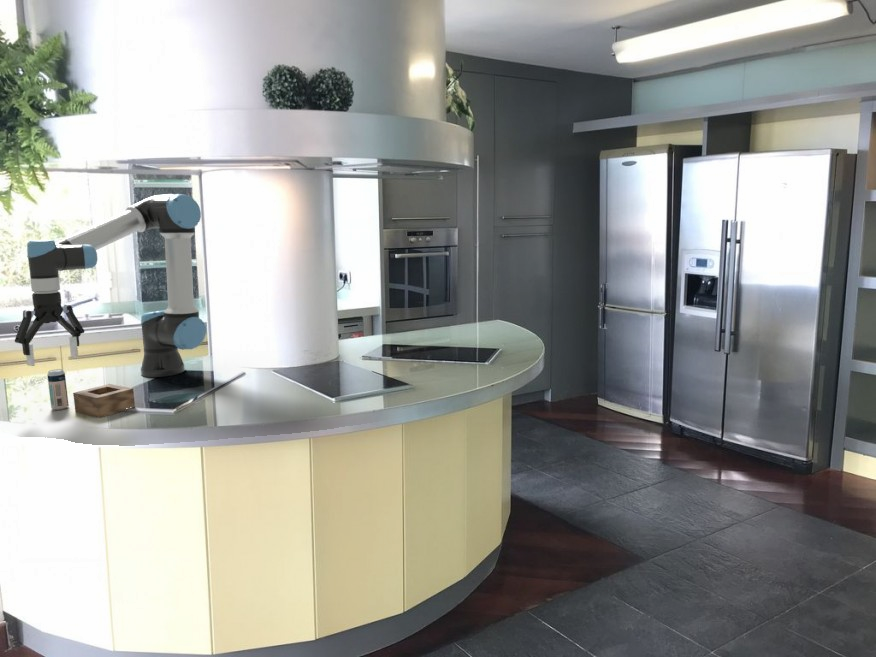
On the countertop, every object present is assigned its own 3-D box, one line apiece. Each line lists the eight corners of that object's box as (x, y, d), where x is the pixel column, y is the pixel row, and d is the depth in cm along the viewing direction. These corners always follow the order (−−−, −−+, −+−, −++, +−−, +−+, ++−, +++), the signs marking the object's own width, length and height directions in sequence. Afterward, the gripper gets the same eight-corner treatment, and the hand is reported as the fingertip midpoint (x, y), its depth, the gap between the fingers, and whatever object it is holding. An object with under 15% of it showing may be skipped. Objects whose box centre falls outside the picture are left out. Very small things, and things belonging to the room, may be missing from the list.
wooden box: (111, 402, 228) (109, 383, 227) (135, 407, 221) (133, 388, 220) (75, 412, 218) (73, 392, 217) (99, 417, 211) (97, 398, 210)
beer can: (72, 406, 224) (68, 369, 221) (60, 411, 219) (56, 372, 217) (59, 405, 225) (55, 368, 223) (47, 410, 220) (43, 372, 218)
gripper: (78, 287, 228) (84, 352, 231) (-4, 295, 207) (4, 367, 210) (92, 288, 224) (98, 354, 227) (10, 297, 203) (18, 370, 206)
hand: (53, 361), depth 219 cm, fingers open, 13 cm apart
